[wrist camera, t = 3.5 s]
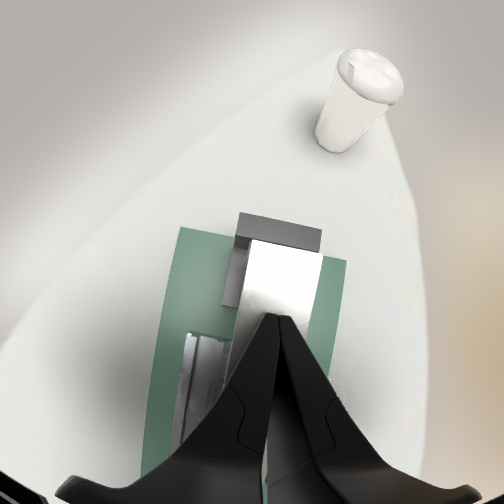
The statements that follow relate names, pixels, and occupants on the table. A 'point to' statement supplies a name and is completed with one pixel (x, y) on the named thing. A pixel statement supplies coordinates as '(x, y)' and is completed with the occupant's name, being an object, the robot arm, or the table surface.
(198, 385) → the heatsink
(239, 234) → the lug block
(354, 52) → the milkshake
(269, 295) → the metal bar
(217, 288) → the board
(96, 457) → the table surface
